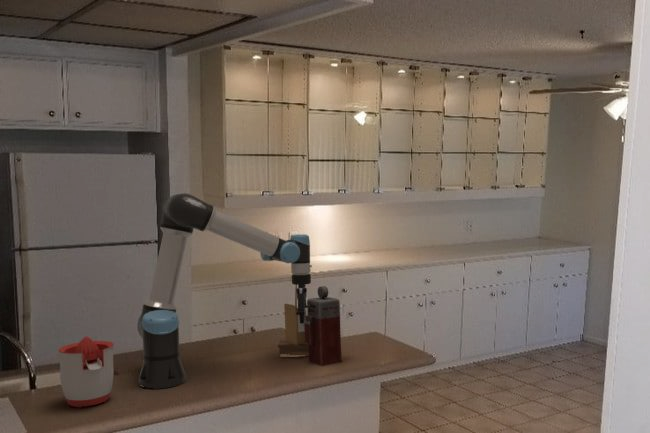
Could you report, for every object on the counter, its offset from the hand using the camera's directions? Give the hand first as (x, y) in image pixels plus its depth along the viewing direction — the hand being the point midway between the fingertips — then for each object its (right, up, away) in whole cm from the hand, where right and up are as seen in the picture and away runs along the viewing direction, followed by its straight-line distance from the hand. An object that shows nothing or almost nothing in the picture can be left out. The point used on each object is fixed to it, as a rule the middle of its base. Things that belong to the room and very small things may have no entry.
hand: (302, 328), depth 233 cm
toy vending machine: (+8, -10, -13) cm, 19 cm away
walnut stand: (0, -10, 0) cm, 10 cm away
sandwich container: (+2, -5, +2) cm, 6 cm away
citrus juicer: (-63, -13, -53) cm, 83 cm away
